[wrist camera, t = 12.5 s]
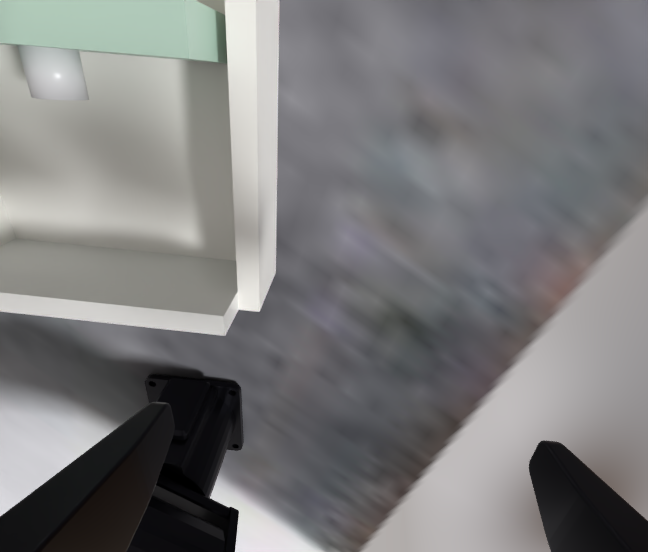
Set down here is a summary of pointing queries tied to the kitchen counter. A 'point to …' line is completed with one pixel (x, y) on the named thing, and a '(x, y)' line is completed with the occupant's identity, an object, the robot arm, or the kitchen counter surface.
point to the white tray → (145, 185)
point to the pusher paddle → (105, 37)
